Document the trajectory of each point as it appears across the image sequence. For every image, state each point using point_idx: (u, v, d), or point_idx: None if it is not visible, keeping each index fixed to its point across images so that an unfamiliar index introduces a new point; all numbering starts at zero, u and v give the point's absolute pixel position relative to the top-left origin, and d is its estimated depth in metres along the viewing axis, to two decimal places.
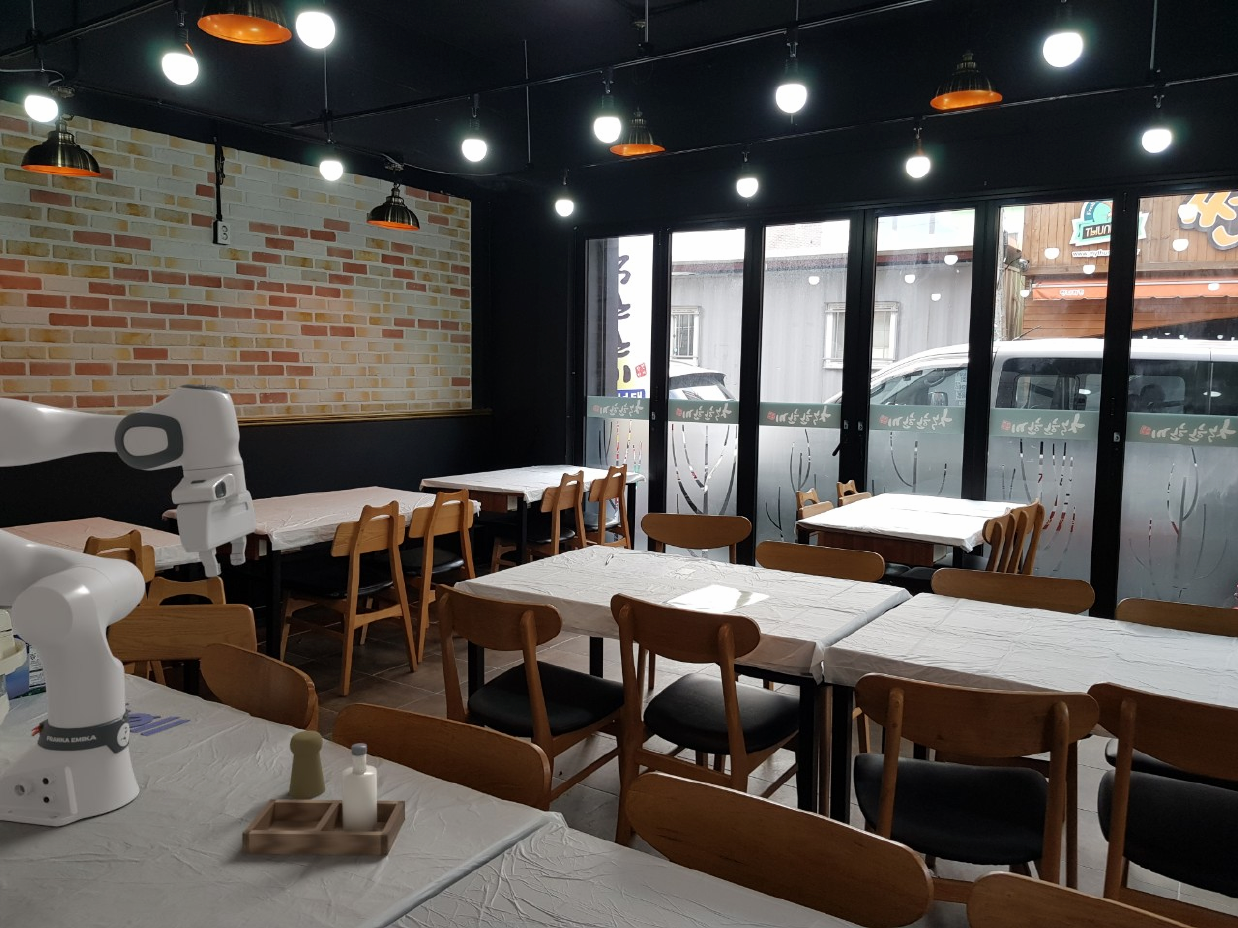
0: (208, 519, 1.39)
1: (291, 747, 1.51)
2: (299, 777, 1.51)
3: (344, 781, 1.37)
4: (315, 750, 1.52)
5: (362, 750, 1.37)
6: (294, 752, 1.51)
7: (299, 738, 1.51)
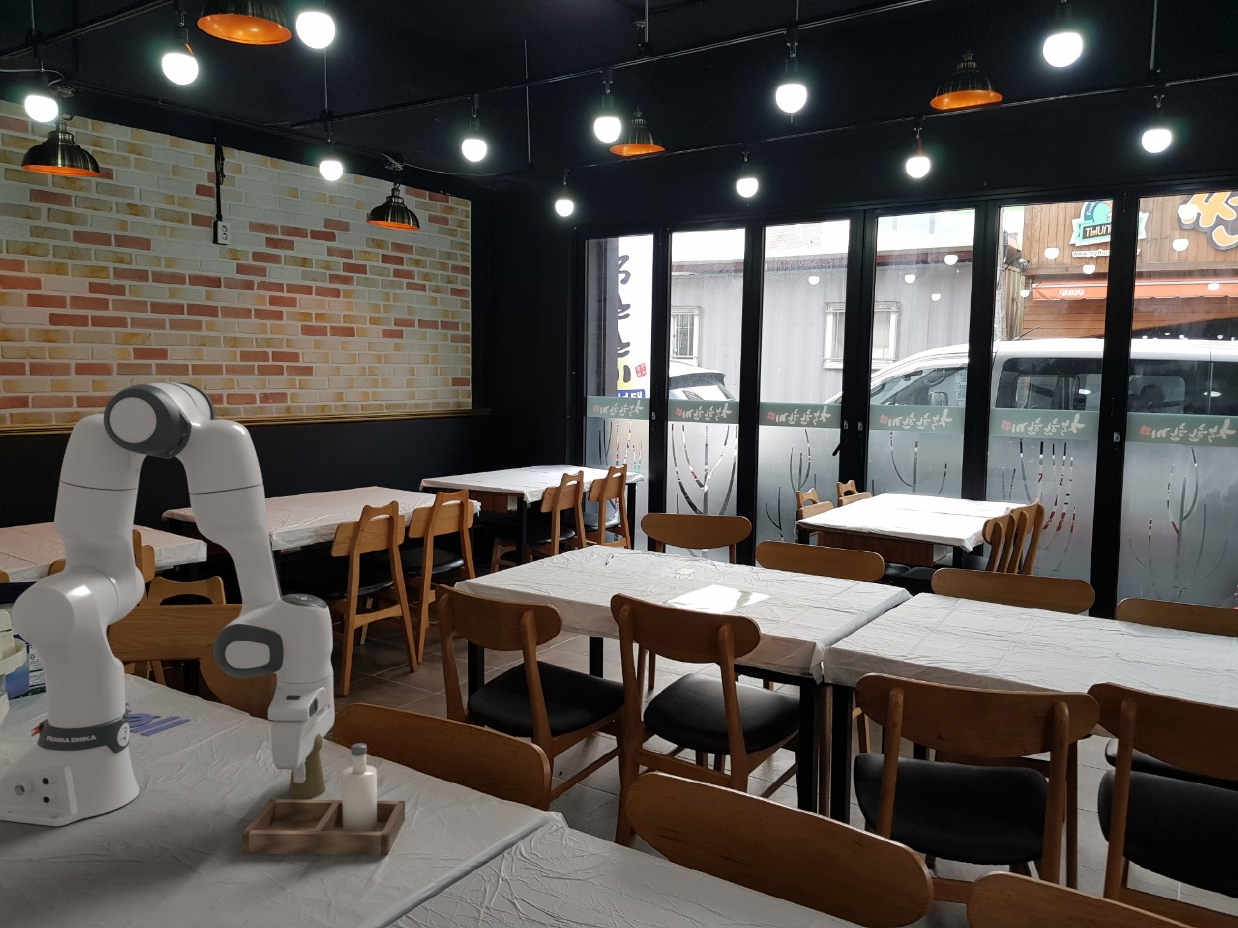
0: (301, 739, 1.44)
1: None
2: None
3: (344, 781, 1.37)
4: (315, 750, 1.52)
5: (362, 750, 1.37)
6: None
7: None
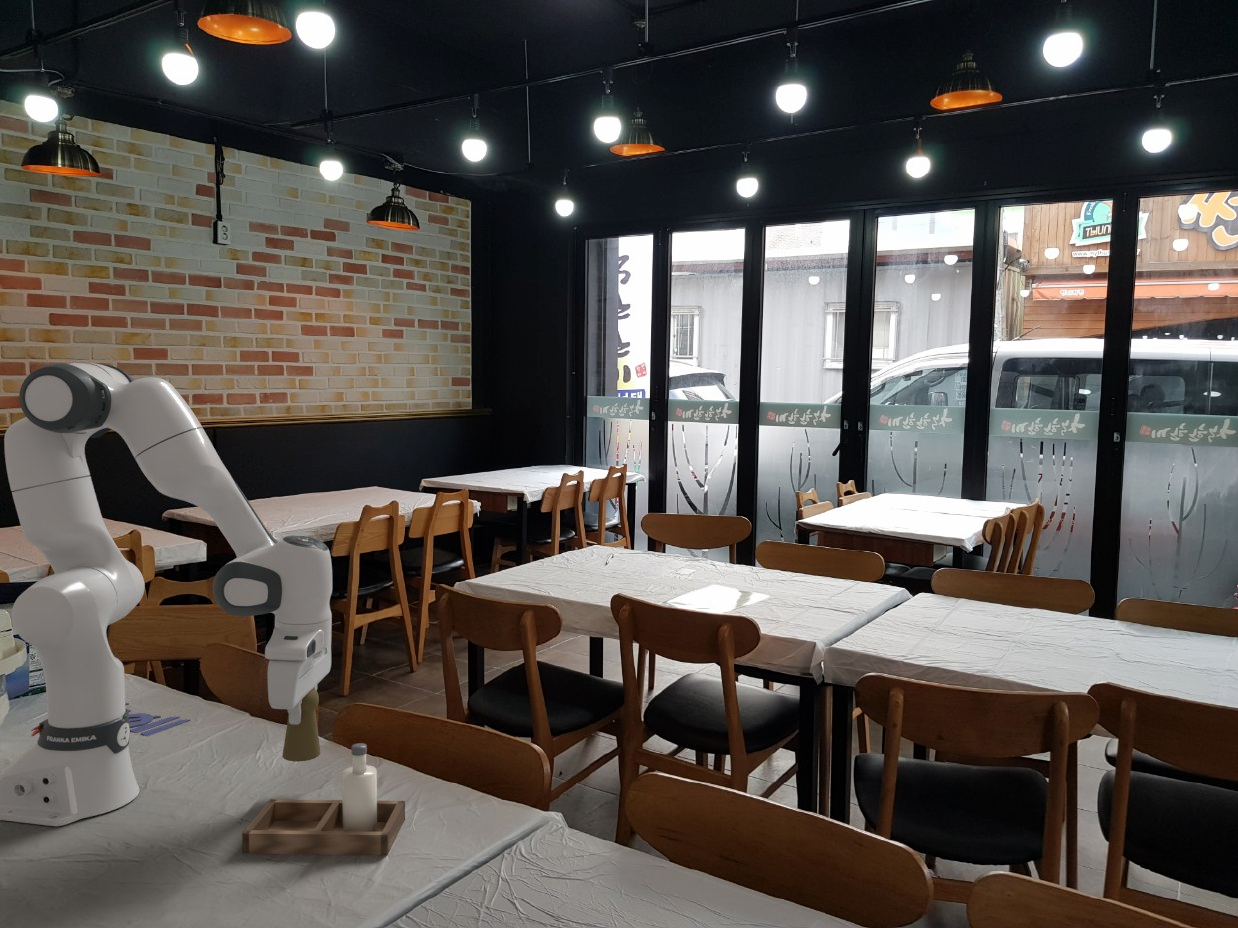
0: (297, 679, 1.43)
1: None
2: (294, 733, 1.51)
3: (344, 781, 1.37)
4: (312, 706, 1.51)
5: (362, 750, 1.37)
6: None
7: None
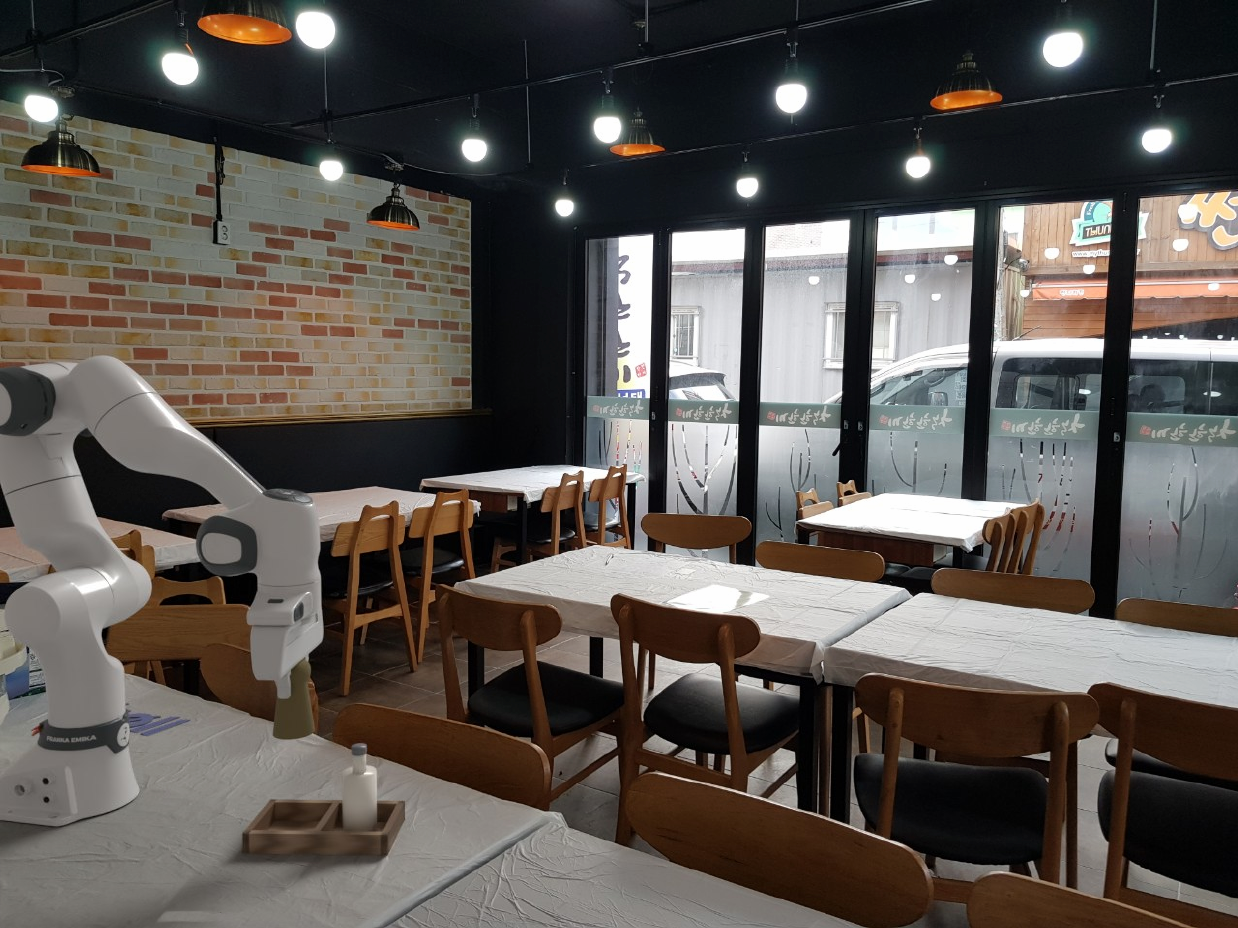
0: (284, 646, 1.28)
1: None
2: (285, 708, 1.35)
3: (344, 781, 1.37)
4: (303, 678, 1.36)
5: (362, 750, 1.37)
6: None
7: None
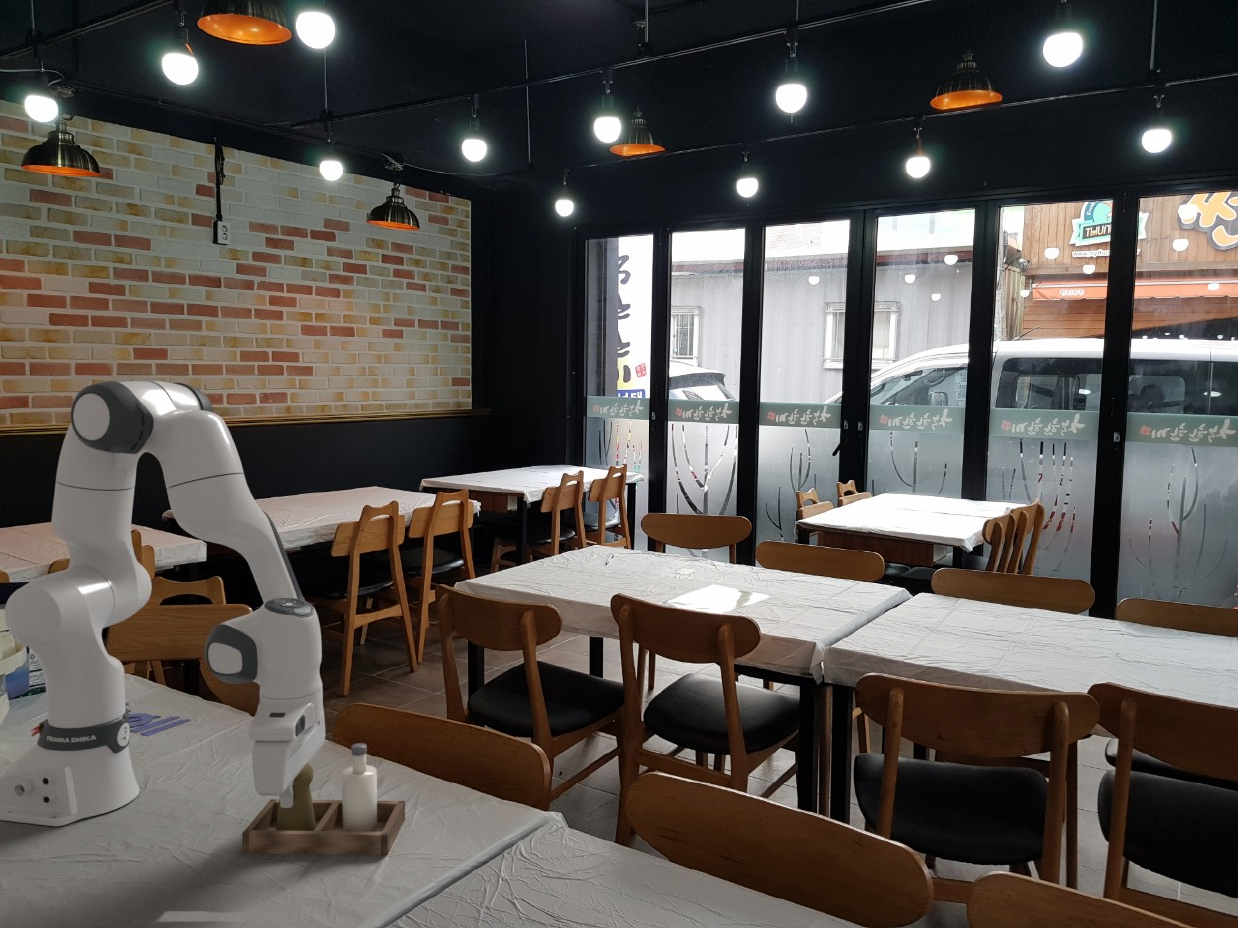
0: (286, 761, 1.29)
1: None
2: (287, 813, 1.36)
3: (344, 781, 1.37)
4: (306, 783, 1.37)
5: (362, 750, 1.37)
6: None
7: None
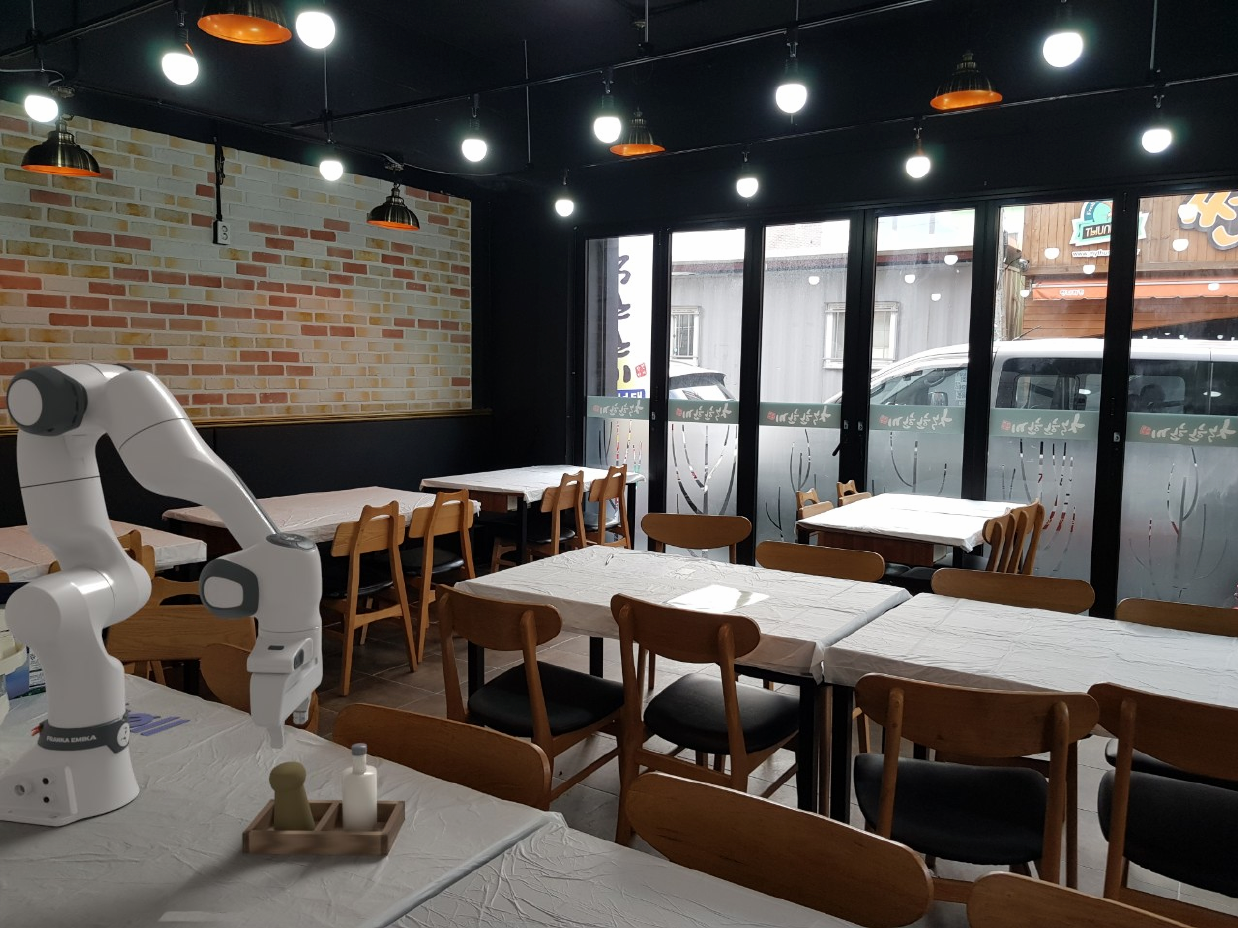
0: (283, 694, 1.28)
1: (270, 783, 1.36)
2: (282, 814, 1.36)
3: (344, 781, 1.37)
4: (297, 784, 1.36)
5: (362, 750, 1.37)
6: (274, 788, 1.35)
7: (278, 772, 1.35)
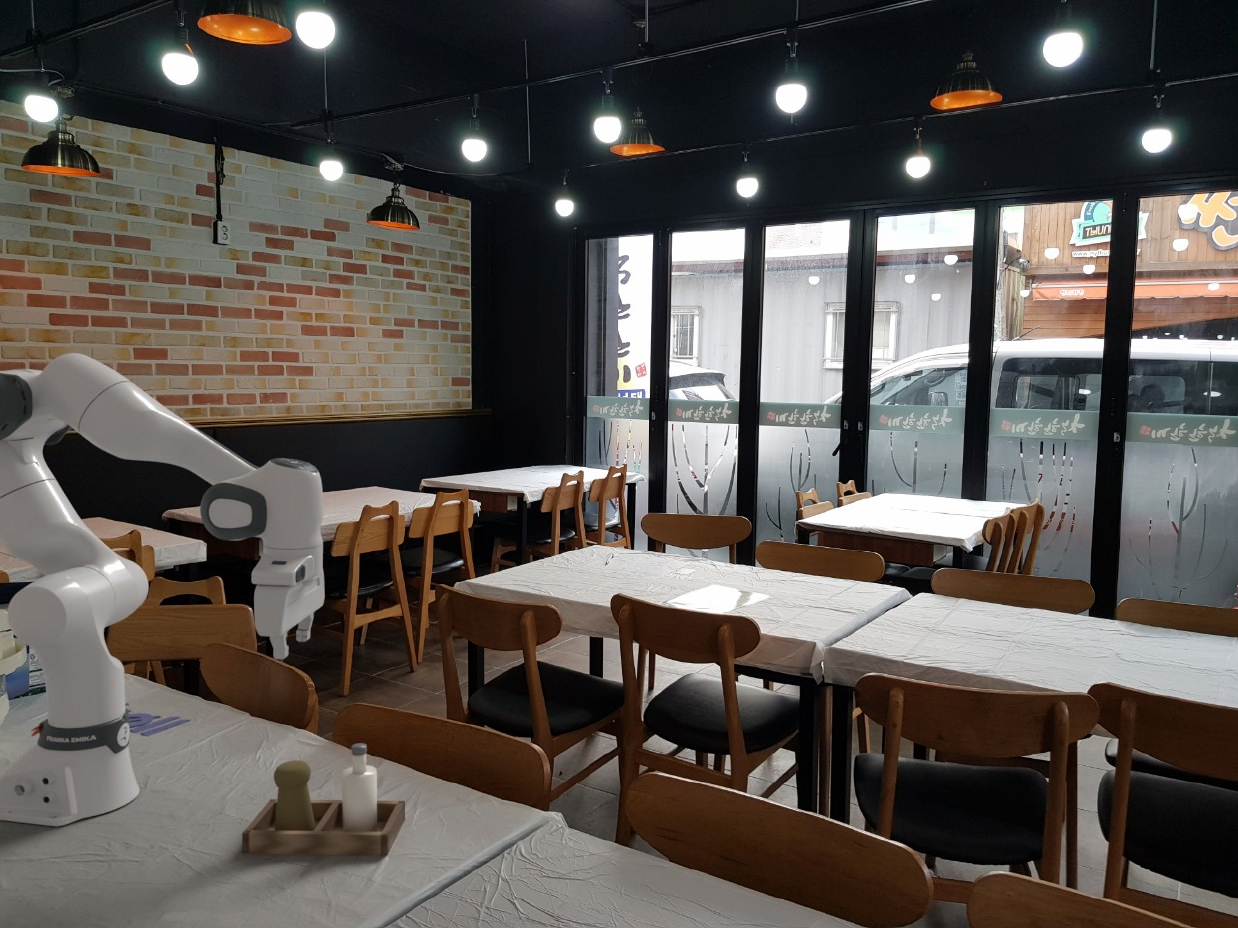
0: (285, 605, 1.36)
1: (275, 779, 1.37)
2: (283, 812, 1.36)
3: (344, 781, 1.37)
4: (301, 782, 1.37)
5: (362, 750, 1.37)
6: (278, 784, 1.36)
7: (283, 768, 1.37)
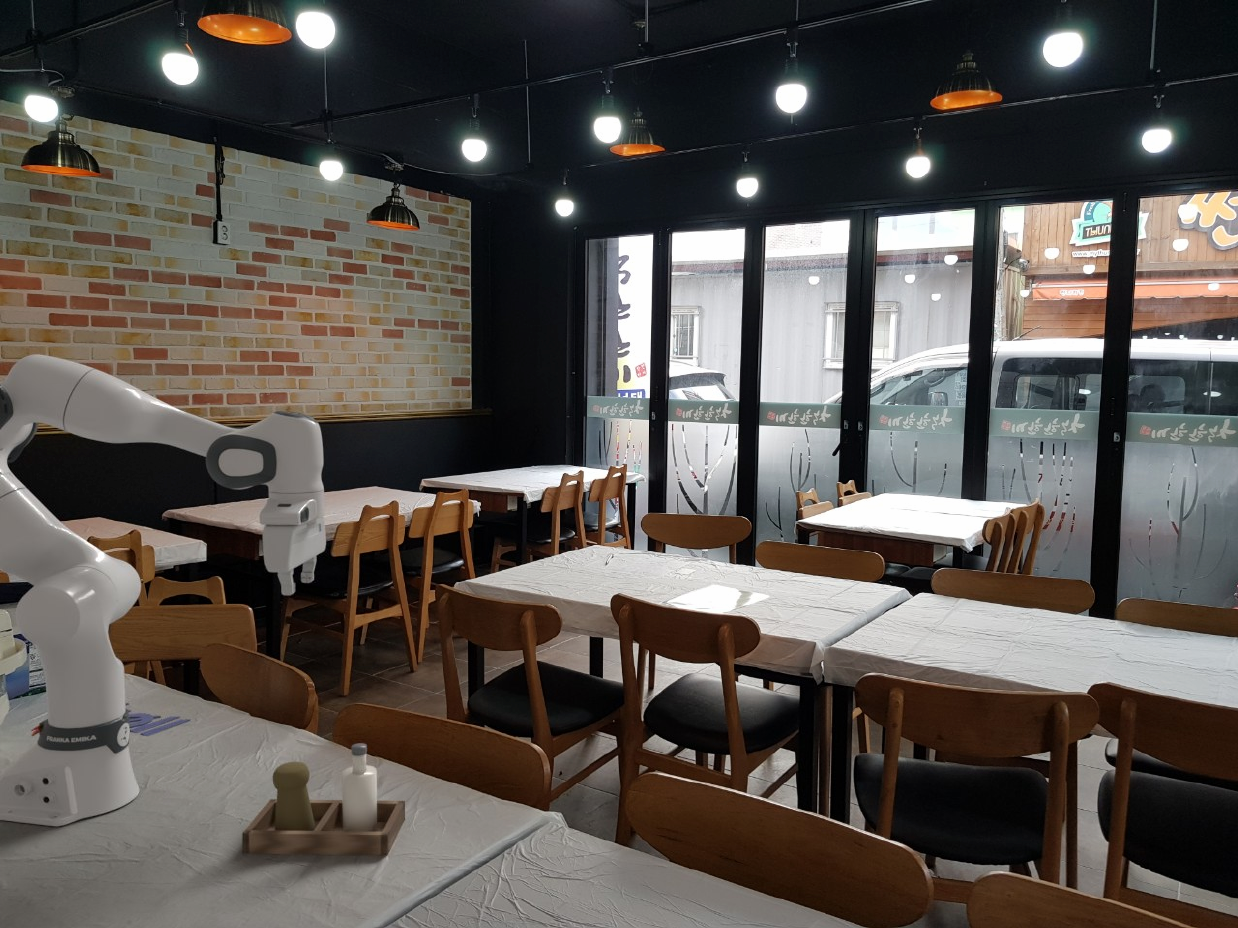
0: (292, 542, 1.47)
1: (273, 781, 1.36)
2: (282, 814, 1.36)
3: (344, 781, 1.37)
4: (299, 784, 1.36)
5: (362, 750, 1.37)
6: (276, 787, 1.36)
7: (281, 771, 1.36)
